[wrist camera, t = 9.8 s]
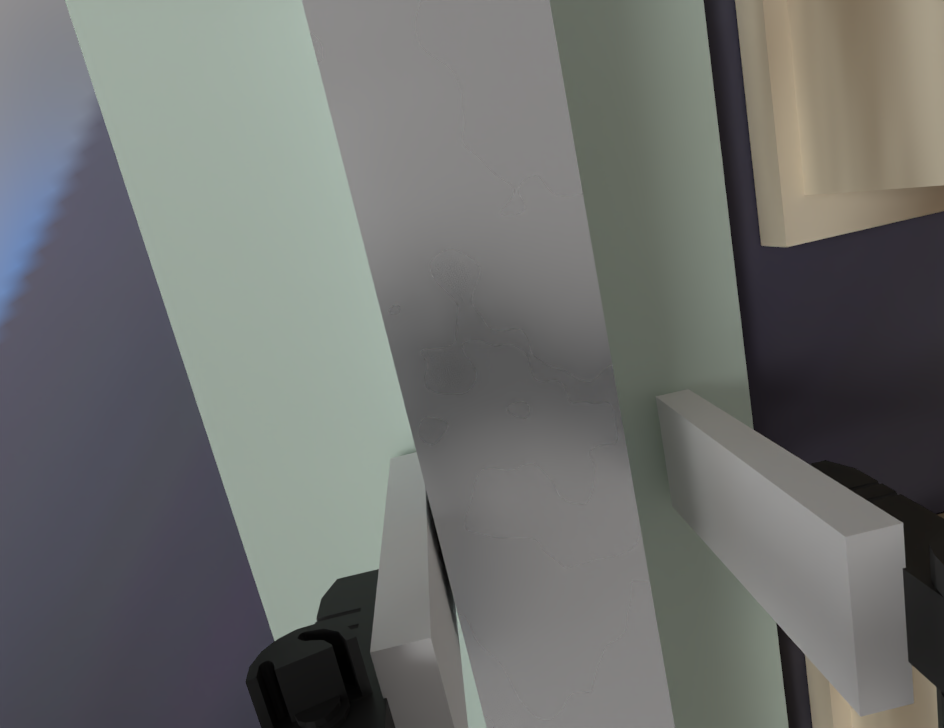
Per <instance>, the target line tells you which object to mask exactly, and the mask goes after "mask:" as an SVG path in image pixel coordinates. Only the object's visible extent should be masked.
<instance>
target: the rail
mask: <svg viewBox="0 0 944 728" xmlns="http://www.w3.org/2000/svg"><path fill="white" fill-rule="evenodd" d="M302 4H303V7H304V11H305V15H306V19H307V23H308V27H309V31H310V35H311V39H312V43H313V47H314V51H315V55H316V59H317V63H318V66H319V70H320V74H321V78H322V82H323V86H324V90H325V94H326V98H327V102H328V106H329V110H330V114H331V118H332V122H333V125H334V129H335V133H336V137H337V141H338V145H339V149H340V153H341V157H342V161H343V165H344V169H345V173H346V177H347V180H348V184H349V188H350V192H351V196H352V200H353V204H354V208H355V212H356V216H357V220H358V224H359V228H360V232H361V236H362V239H363V243H364V247H365V251H366V255H367V259H368V263H369V267H370V271H371V275H372V279H373V283H374V287H375V291H376V295H377V298H378V302H379V306H380V310H381V314H382V318H383V322H384V326H385V330H386V334H387V338H388V342H389V346H390V350H391V354H392V357H393V361H394V365H395V369H396V373H397V377H398V381H399V385H400V389H401V393H402V397H403V401H404V405H405V409H406V412H407V416H408V420H409V424H410V428H411V432H412V436H413V440H414V444H415V448H416V452H417V456H418V460H419V464H420V468H421V471H422V475H423V479H424V483H425V487H426V491H427V495H428V499H429V503H430V507H431V511H432V515H433V519H434V523H435V527H436V530H437V534H438V538H439V542H440V546H441V550H442V554H443V558H444V562H445V566H446V570H447V574H448V578H449V582H450V586H451V589H452V593H453V597H454V601H455V605H456V609H457V613H458V617H459V621H460V625H461V629H462V633H463V637H464V641H465V644H466V648H467V652H468V656H469V660H470V664H471V668H472V672H473V676H474V680H475V684H476V688H477V692H478V696H479V700H480V703H481V707H482V711H483V715H484V719H485V723H486V727H487V728H675V725H674V719H673V713H672V707H671V701H670V696H669V690H668V684H667V678H666V672H665V667H664V661H663V655H662V649H661V644H660V638H659V632H658V626H657V620H656V615H655V609H654V603H653V597H652V591H651V586H650V580H649V574H648V568H647V562H646V557H645V551H644V545H643V539H642V533H641V528H640V522H639V516H638V510H637V504H636V499H635V493H634V487H633V481H632V475H631V470H630V464H629V458H628V452H627V446H626V441H625V435H624V429H623V423H622V417H621V412H620V406H619V400H618V394H617V389H616V383H615V377H614V371H613V365H612V360H611V354H610V348H609V342H608V336H607V331H606V325H605V319H604V313H603V307H602V302H601V296H600V290H599V284H598V278H597V273H596V267H595V261H594V255H593V249H592V244H591V238H590V232H589V226H588V220H587V215H586V209H585V203H584V197H583V191H582V186H581V180H580V174H579V168H578V162H577V157H576V151H575V145H574V139H573V134H572V128H571V122H570V116H569V110H568V105H567V99H566V93H565V87H564V81H563V76H562V70H561V64H560V58H559V52H558V47H557V41H556V35H555V29H554V23H553V18H552V12H551V6H550V0H302Z"/></svg>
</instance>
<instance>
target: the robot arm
mask: <svg viewBox="0 0 944 728" xmlns="http://www.w3.org/2000/svg"><path fill="white" fill-rule="evenodd" d="M656 403H657V409H658V416H659V422H660V429H661V436H662V442H663V449H664V455H665V462H666V468H667V475H668V482H669V488H670V495H671V501H672V506H673V508H674V509H675V510H676V511H677V512H678V513H679V514H680V515H681V516H682V518H683V519H684V520H685V521H686V522H687V523H688V524H689V525H690V527H691V528H692V529H693V530H694V531H695V532H696V533H697V534H698V535H699V537H700V538H701V539H702V540H703V541H704V542H705V543H706V544H707V546H708V547H709V548H710V549H711V550H712V551H713V552H714V553H715V555H716V556H717V557H718V558H719V559H720V560H721V561H722V562H723V563H724V565H725V566H726V567H727V568H728V569H729V570H730V571H731V572H732V574H733V575H734V576H735V577H736V578H737V579H738V580H739V581H740V582H741V584H742V585H743V586H744V587H745V588H746V589H747V590H748V591H749V593H750V594H751V595H752V596H753V597H754V598H755V599H756V600H757V602H758V603H759V604H760V605H761V606H762V607H763V608H764V609H765V610H766V612H767V613H768V614H769V615H770V616H771V617H772V618H773V619H774V621H775V622H776V623H777V624H778V625H779V626H780V627H781V628H782V629H783V631H784V632H785V633H786V634H787V635H788V636H789V637H790V638H791V640H792V641H793V642H794V643H795V644H796V645H797V646H798V647H799V649H800V650H801V651H802V652H803V653H804V654H805V655H806V656H807V657H808V659H809V660H810V661H811V662H812V663H813V664H814V665H815V666H816V668H817V669H818V670H819V671H820V672H821V673H822V674H823V675H824V676H825V678H826V679H827V680H828V681H829V682H830V683H831V684H832V685H833V687H834V688H835V689H836V690H837V691H838V692H839V693H840V694H841V696H842V697H843V698H844V699H845V700H846V701H847V702H848V703H849V704H850V706H851V707H852V708H853V709H854V710H855V711H856V712H857V713H858V715H859V716H860V717H862V716H866V715H870V714H874V713H878V712H882V711H886V710H890V709H894V708H898V707H901V706H905V705H909V704H913V703H914V694H913V678H912V666H914V667H915V668H916V669H917V670H918V671H919V672H920V673H921V674H922V675H924V676H925V677H926V678H927V679H928V680H929V681H930V682H931V683H932V684H934V685H935V686H936V691H937V710H938V728H944V518H942V517H940V516H938V515H936V514H935V513H933V512H931V511H929V510H928V509H926V508H924V507H922V506H921V505H919V504H917V503H915V502H914V501H912V500H910V499H908V498H907V497H905V496H903V495H897V493H896V491H894V490H892V489H891V488H889V487H887V486H885V485H884V484H879V483H878V481H877V480H875V479H873V478H871V477H869V476H868V475H866V474H864V473H862V472H861V471H859V470H857V469H855V468H852V467H848V466H844V465H841V464H837V463H833V462H830V461H826V460H825V461H821V462H816V463H812V464H808V463H806V462H805V461H803V460H801V459H800V458H798V457H796V456H795V455H793V454H792V453H790V452H788V451H787V450H785V449H784V448H782V447H780V446H779V445H777V444H776V443H774V442H772V441H771V440H769V439H768V438H766V437H764V436H763V435H761V434H760V433H758V432H756V431H755V430H753V429H752V428H750V427H748V426H747V425H745V424H744V423H742V422H740V421H739V420H737V419H736V418H734V417H732V416H731V415H729V414H728V413H726V412H724V411H723V410H721V409H719V408H718V407H716V406H715V405H713V404H711V403H710V402H708V401H707V400H705V399H703V398H702V397H700V396H699V395H697V394H695V393H694V392H692V391H691V390H689V389H686V390H682V391H677V392H673V393H669V394H664V395H660V396H656ZM316 619H317V622H315V624H313V625H310V626H306V627H303V628H299V629H296V630H294V631H292V632H290V633H288V634H286V635H284V636H283V637H281V638H279V639H277V640H276V641H274V642H273V643H272V644H271V645H269V646H268V647H267V648H266V649H264V650H263V651H262V652H261V653H260V654H259V655H258V657H257V658H256V659H255V661H254V662H253V663H252V665H251V666H250V667H249V671H248V675H247V678H246V684H247V687H248V690H249V693H250V696H251V699H252V702H253V705H254V708H255V710H256V713H257V716H258V719H259V722H260V725H261V728H468V721H467V712H466V702H465V692H464V682H463V673H462V663H461V653H460V644H459V634H458V624H457V614H456V605H455V601H454V597H453V593H452V589H451V586H450V582H449V578H448V574H447V570H446V566H445V562H444V558H443V554H442V550H441V546H440V542H439V538H438V534H437V530H436V527H435V523H434V519H433V515H432V511H431V507H430V503H429V499H428V495H427V491H426V487H425V483H424V479H423V475H422V471H421V468H420V464H419V460H418V456H417V452H415V453H411V454H406V455H402V456H398V457H393V458H391V459H390V468H389V478H388V487H387V496H386V506H385V515H384V525H383V534H382V544H381V553H380V563H379V569H377V570H372V571H368V572H364V573H360V574H356V575H351V576H347V577H343V578H339V579H337V580H336V581H335V582H334V583H333V585H332V586H331V587H330V588H329V590H328V591H327V592H326V593H325V595H324V596H323V597H322V598H321V602H320V606H319V610H318V614H317V618H316Z"/></svg>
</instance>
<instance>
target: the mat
mask: <svg viewBox="0 0 944 728" xmlns="http://www.w3.org/2000/svg"><path fill="white" fill-rule="evenodd" d="M65 2H66V5H67V8H68V11H69V14H70V17H71V20H72V23H73V26H74V29H75V32H76V36H77V39H78V42H79V44H80V48H81V51H82V54H83V57H84V60H85V63H86V66H87V69H88V72H89V75H90V78H91V81H92V84H93V87H94V91H95V94H96V97H97V100H98V103H99V106H100V109H101V112H102V115H103V118H104V121H105V124H106V127H107V130H108V133H109V136H110V139H111V142H112V146H113V149H114V152H115V155H116V158H117V161H118V164H119V167H120V170H121V173H122V176H123V179H124V182H125V185H126V188H127V191H128V194H129V197H130V201H131V204H132V207H133V210H134V213H135V216H136V219H137V222H138V225H139V228H140V231H141V234H142V237H143V240H144V243H145V246H146V249H147V252H148V256H149V259H150V262H151V265H152V268H153V271H154V274H155V277H156V280H157V283H158V286H159V289H160V292H161V295H162V298H163V301H164V304H165V307H166V311H167V314H168V317H169V320H170V323H171V326H172V329H173V332H174V335H175V338H176V341H177V344H178V347H179V350H180V353H181V356H182V359H183V362H184V366H185V369H186V372H187V375H188V378H189V381H190V384H191V387H192V390H193V393H194V396H195V399H196V402H197V405H198V408H199V411H200V414H201V417H202V421H203V424H204V427H205V430H206V433H207V436H208V439H209V442H210V445H211V448H212V451H213V454H214V457H215V460H216V463H217V466H218V469H219V472H220V476H221V479H222V482H223V485H224V488H225V491H226V494H227V497H228V500H229V503H230V506H231V509H232V512H233V515H234V518H235V521H236V524H237V527H238V531H239V534H240V537H241V540H242V543H243V546H244V549H245V552H246V555H247V558H248V561H249V564H250V567H251V570H252V573H253V576H254V579H255V582H256V586H257V589H258V592H259V595H260V598H261V601H262V604H263V607H264V610H265V613H266V616H267V619H268V622H269V625H270V628H271V631H272V634H273V637H274V641H276V640H277V639H279V638H281V637H283V636H284V635H286V634H288V633H290V632H292V631H294V630H296V629H299V628H303V627H306V626H310V625H313V624H315V622H317V619H316V618H317V614H318V610H319V606H320V602H321V598H322V597H323V596H324V595H325V593H326V592H327V591H328V590H329V588H330V587H331V586H332V585H333V583H334V582H335V581H336V580H337V579H339V578H343V577H347V576H351V575H356V574H360V573H364V572H368V571H372V570H377V569H379V563H380V553H381V544H382V534H383V525H384V515H385V506H386V496H387V487H388V478H389V468H390V459H391V458H393V457H398V456H402V455H406V454H411V453H415V452H416V448H415V444H414V440H413V436H412V432H411V428H410V424H409V420H408V416H407V412H406V409H405V405H404V401H403V397H402V393H401V389H400V385H399V381H398V377H397V373H396V369H395V365H394V361H393V357H392V354H391V350H390V346H389V342H388V338H387V334H386V330H385V326H384V322H383V318H382V314H381V310H380V306H379V302H378V298H377V295H376V291H375V287H374V283H373V279H372V275H371V271H370V267H369V263H368V259H367V255H366V251H365V247H364V243H363V239H362V236H361V232H360V228H359V224H358V220H357V216H356V212H355V208H354V204H353V200H352V196H351V192H350V188H349V184H348V180H347V177H346V173H345V169H344V165H343V161H342V157H341V153H340V149H339V145H338V141H337V137H336V133H335V129H334V125H333V122H332V118H331V114H330V110H329V106H328V102H327V98H326V94H325V90H324V86H323V82H322V78H321V74H320V70H319V66H318V63H317V59H316V55H315V51H314V47H313V43H312V39H311V35H310V31H309V27H308V23H307V19H306V15H305V11H304V7H303V4H302V0H65ZM550 6H551V12H552V18H553V23H554V29H555V35H556V41H557V47H558V52H559V58H560V64H561V70H562V76H563V81H564V87H565V93H566V99H567V105H568V110H569V116H570V122H571V128H572V134H573V139H574V145H575V151H576V157H577V162H578V168H579V174H580V180H581V186H582V191H583V197H584V203H585V209H586V215H587V220H588V226H589V232H590V238H591V244H592V249H593V255H594V261H595V267H596V273H597V278H598V284H599V290H600V296H601V302H602V307H603V313H604V319H605V325H606V331H607V336H608V342H609V348H610V354H611V360H612V365H613V371H614V377H615V383H616V389H617V394H618V400H619V406H620V412H621V417H622V423H623V429H624V435H625V441H626V446H627V452H628V458H629V464H630V470H631V475H632V481H633V487H634V493H635V499H636V504H637V510H638V516H639V522H640V528H641V533H642V539H643V545H644V551H645V557H646V562H647V568H648V574H649V580H650V586H651V591H652V597H653V603H654V609H655V615H656V620H657V626H658V632H659V638H660V644H661V649H662V655H663V661H664V667H665V672H666V678H667V684H668V690H669V696H670V701H671V707H672V713H673V719H674V725H675V728H789V726H788V718H787V709H786V701H785V692H784V684H783V675H782V667H781V658H780V650H779V641H778V633H777V624H776V622H775V621H774V619H773V618H772V617H771V616H770V615H769V614H768V613H767V612H766V610H765V609H764V608H763V607H762V606H761V605H760V604H759V603H758V602H757V600H756V599H755V598H754V597H753V596H752V595H751V594H750V593H749V591H748V590H747V589H746V588H745V587H744V586H743V585H742V584H741V582H740V581H739V580H738V579H737V578H736V577H735V576H734V575H733V574H732V572H731V571H730V570H729V569H728V568H727V567H726V566H725V565H724V563H723V562H722V561H721V560H720V559H719V558H718V557H717V556H716V555H715V553H714V552H713V551H712V550H711V549H710V548H709V547H708V546H707V544H706V543H705V542H704V541H703V540H702V539H701V538H700V537H699V535H698V534H697V533H696V532H695V531H694V530H693V529H692V528H691V527H690V525H689V524H688V523H687V522H686V521H685V520H684V519H683V518H682V516H681V515H680V514H679V513H678V512H677V511H676V510H675V509H674V508H673V506H672V501H671V495H670V488H669V482H668V475H667V468H666V462H665V455H664V449H663V442H662V436H661V429H660V422H659V416H658V409H657V403H656V396H660V395H664V394H669V393H673V392H677V391H682V390H686V389H689V390H691V391H692V392H694V393H695V394H697V395H699V396H700V397H702V398H703V399H705V400H707V401H708V402H710V403H711V404H713V405H715V406H716V407H718V408H719V409H721V410H723V411H724V412H726V413H728V414H729V415H731V416H732V417H734V418H736V419H737V420H739V421H740V422H742V423H744V424H745V425H747V426H748V427H750V428H752V429H753V430H754V428H753V419H752V411H751V402H750V394H749V385H748V376H747V368H746V359H745V351H744V342H743V334H742V325H741V317H740V308H739V300H738V291H737V283H736V274H735V265H734V257H733V248H732V240H731V231H730V223H729V214H728V206H727V197H726V189H725V180H724V172H723V163H722V154H721V146H720V137H719V129H718V120H717V112H716V103H715V95H714V86H713V78H712V69H711V61H710V52H709V44H708V35H707V26H706V18H705V9H704V1H703V0H550ZM456 614H457V624H458V634H459V644H460V653H461V663H462V673H463V682H464V692H465V702H466V712H467V721H468V728H487V727H486V723H485V719H484V715H483V711H482V707H481V703H480V700H479V696H478V692H477V688H476V684H475V680H474V676H473V672H472V668H471V664H470V660H469V656H468V652H467V648H466V644H465V641H464V637H463V633H462V629H461V625H460V621H459V617H458V613H457V609H456Z"/></svg>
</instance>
